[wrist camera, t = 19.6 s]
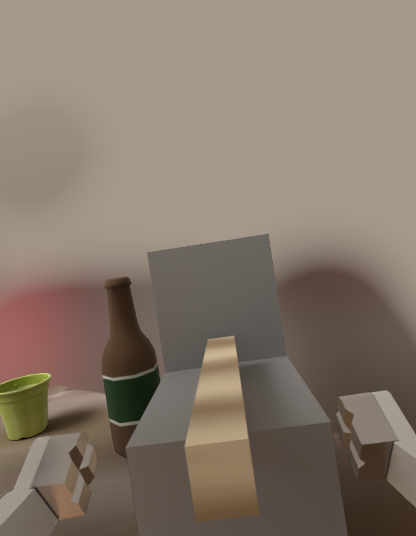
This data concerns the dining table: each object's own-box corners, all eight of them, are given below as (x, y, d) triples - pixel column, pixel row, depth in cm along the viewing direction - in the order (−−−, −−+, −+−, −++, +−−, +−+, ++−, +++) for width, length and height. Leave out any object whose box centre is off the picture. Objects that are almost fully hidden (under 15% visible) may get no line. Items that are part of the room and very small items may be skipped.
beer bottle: (178, 432, 52) (154, 272, 51) (150, 462, 44) (121, 277, 44) (136, 429, 55) (113, 278, 55) (102, 457, 48) (76, 284, 47)
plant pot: (69, 422, 62) (61, 373, 62) (17, 450, 54) (8, 395, 54) (38, 417, 67) (31, 372, 66) (-14, 442, 58) (-22, 391, 58)
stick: (259, 515, 13) (248, 438, 13) (195, 522, 14) (184, 446, 14) (238, 367, 32) (234, 335, 32) (212, 371, 33) (207, 339, 33)
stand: (366, 662, 20) (300, 213, 20) (161, 681, 20) (94, 245, 20) (291, 452, 42) (259, 239, 42) (193, 464, 42) (161, 254, 42)
